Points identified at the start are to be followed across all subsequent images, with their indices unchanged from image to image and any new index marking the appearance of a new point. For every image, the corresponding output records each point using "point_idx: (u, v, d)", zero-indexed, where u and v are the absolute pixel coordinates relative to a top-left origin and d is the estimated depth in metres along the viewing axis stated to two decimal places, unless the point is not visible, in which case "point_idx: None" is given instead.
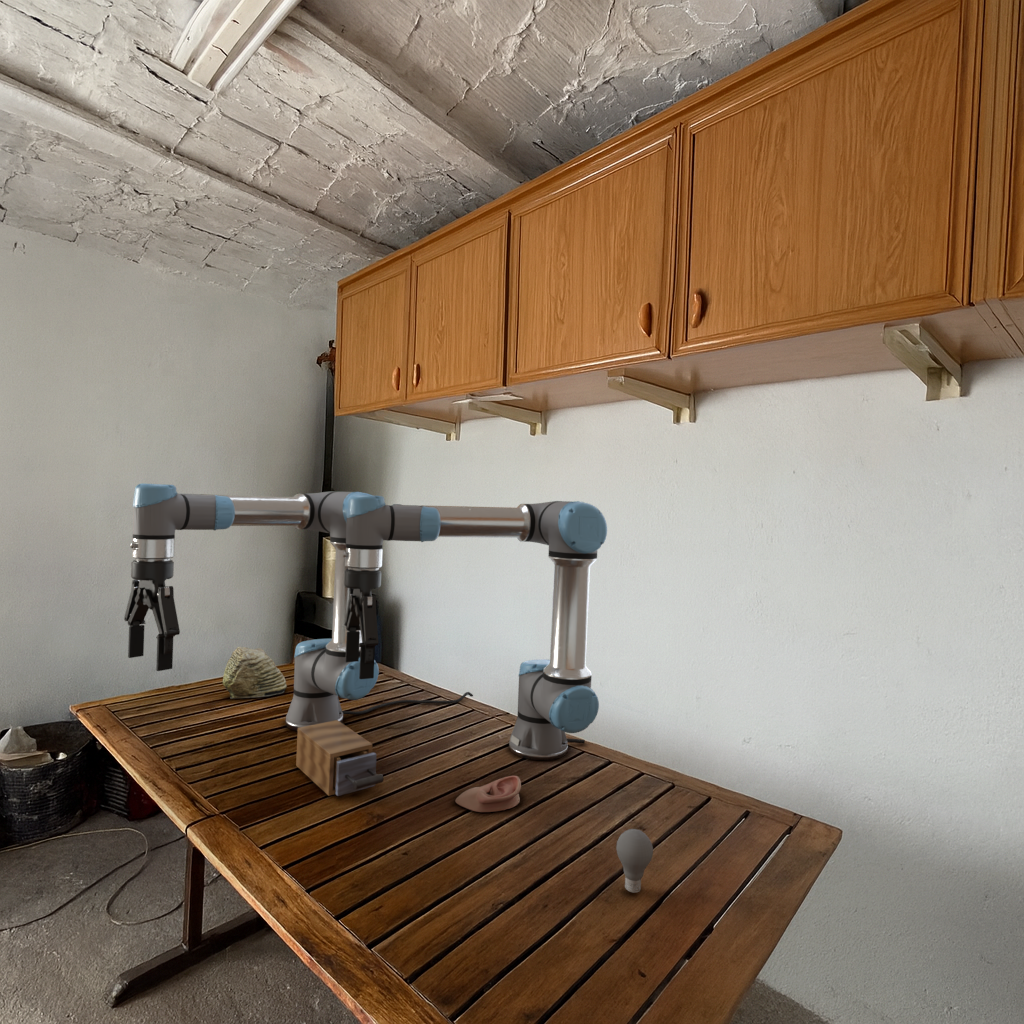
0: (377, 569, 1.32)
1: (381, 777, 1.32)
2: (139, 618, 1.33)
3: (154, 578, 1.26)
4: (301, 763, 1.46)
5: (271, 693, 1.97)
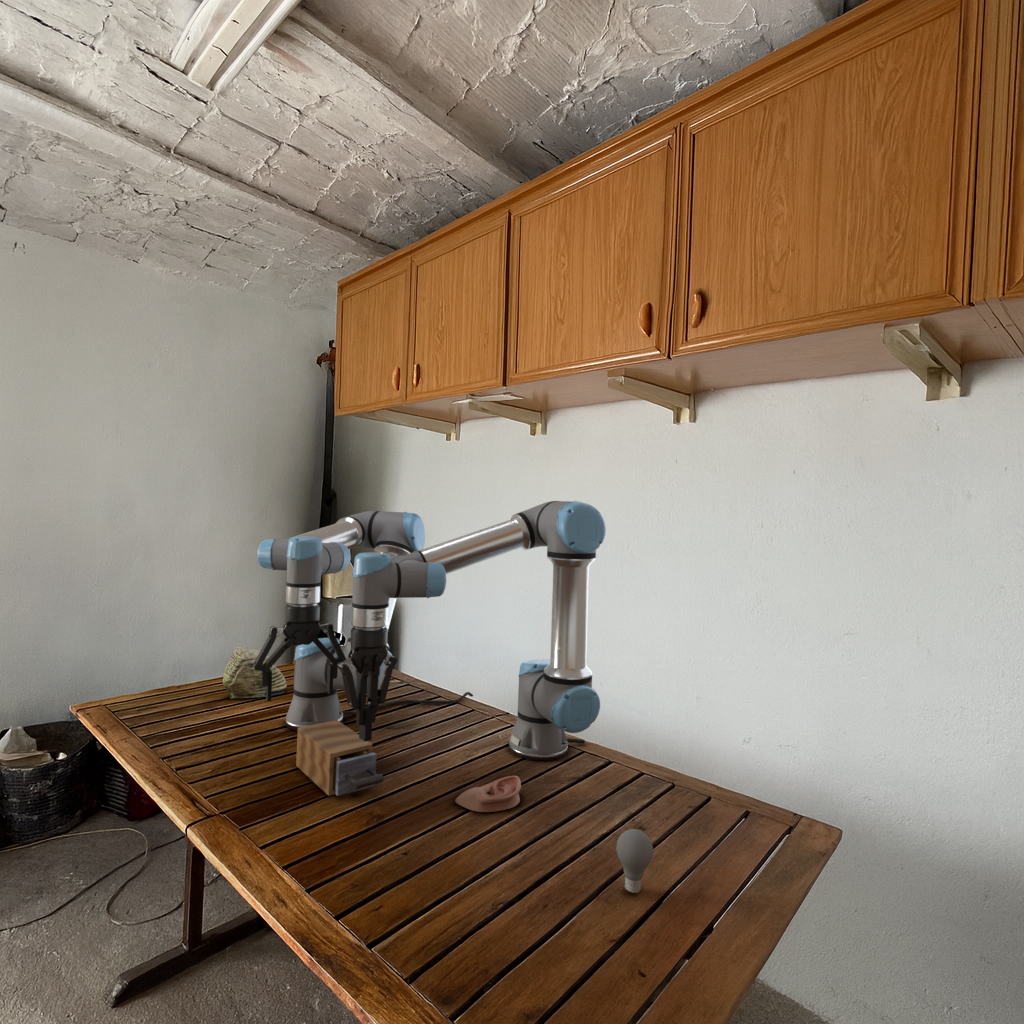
0: None
1: (381, 777, 1.32)
2: None
3: None
4: (301, 763, 1.46)
5: (271, 693, 1.97)
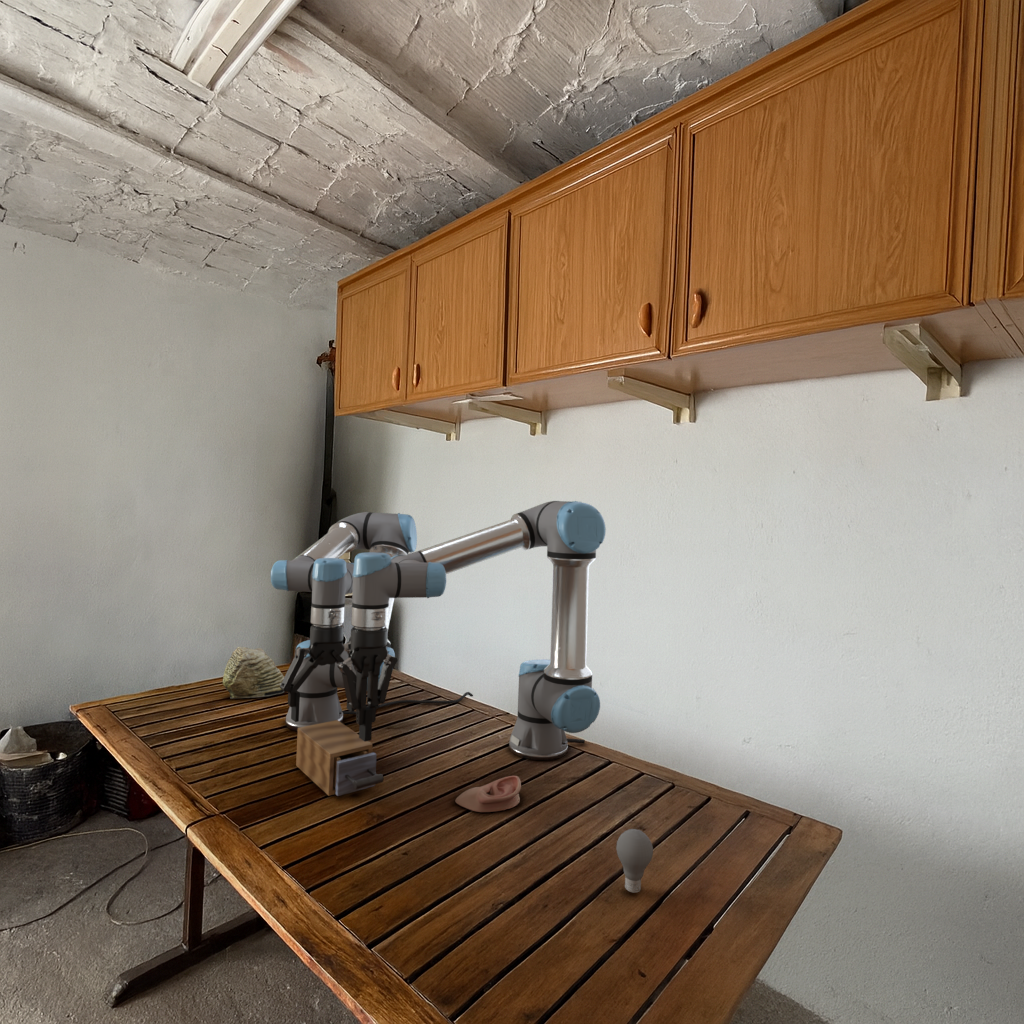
0: None
1: (381, 777, 1.32)
2: None
3: None
4: (301, 763, 1.46)
5: (271, 693, 1.97)
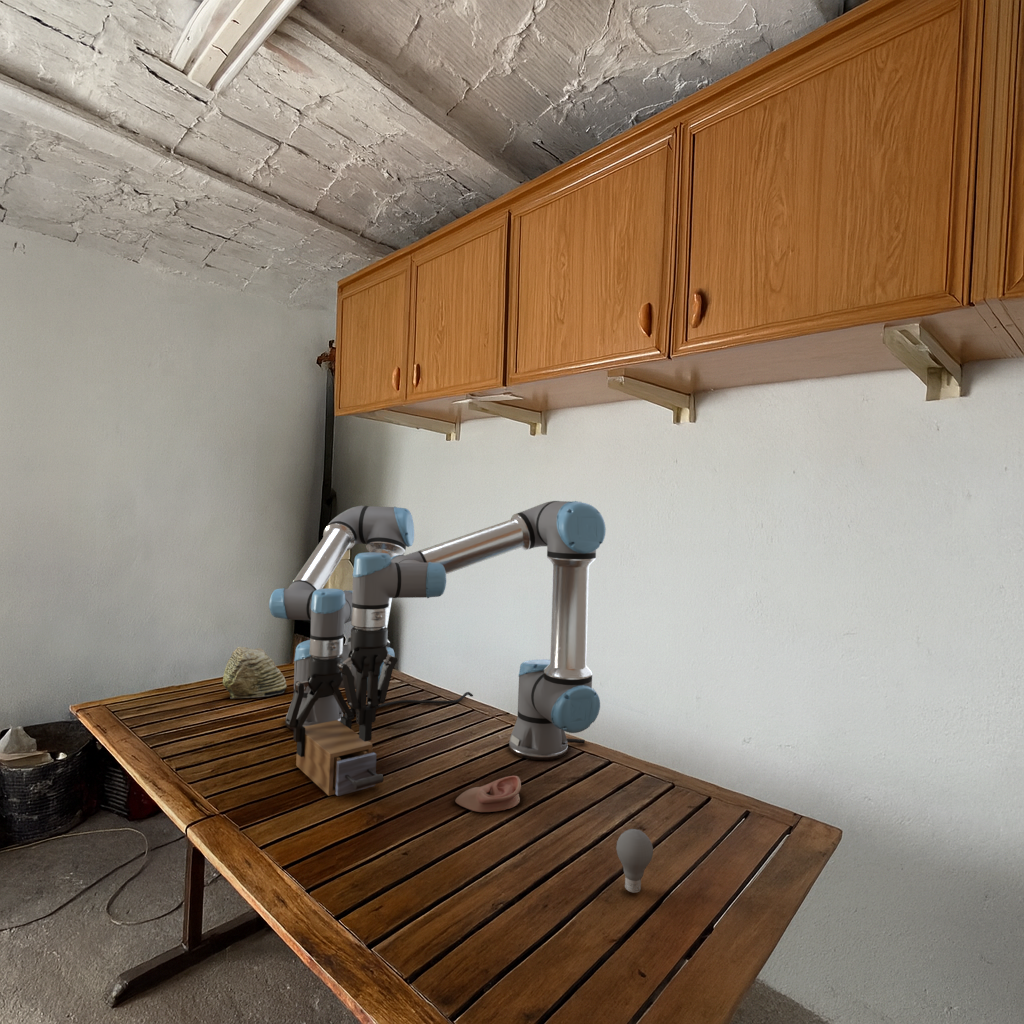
0: None
1: (381, 777, 1.32)
2: None
3: None
4: (301, 763, 1.46)
5: (271, 693, 1.97)
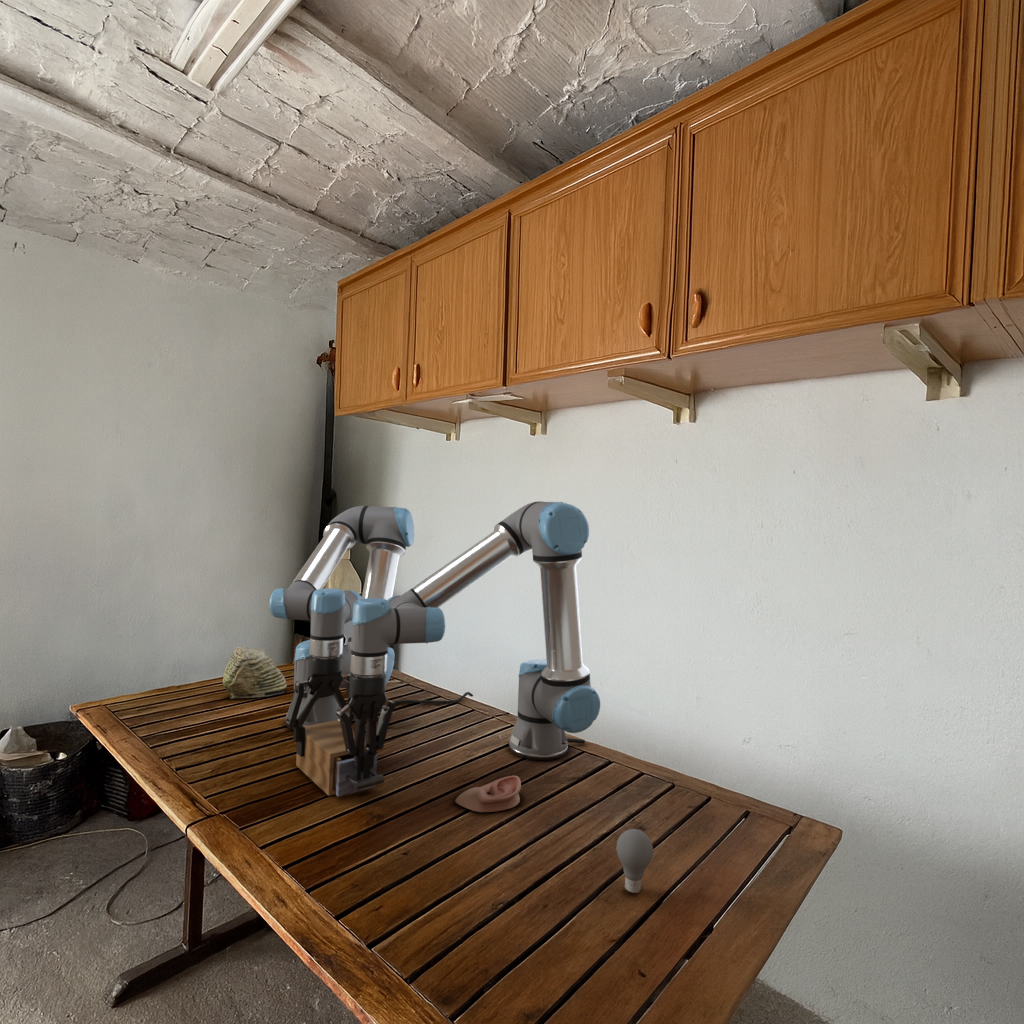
0: None
1: (382, 778, 1.32)
2: None
3: None
4: (301, 763, 1.46)
5: (271, 693, 1.97)
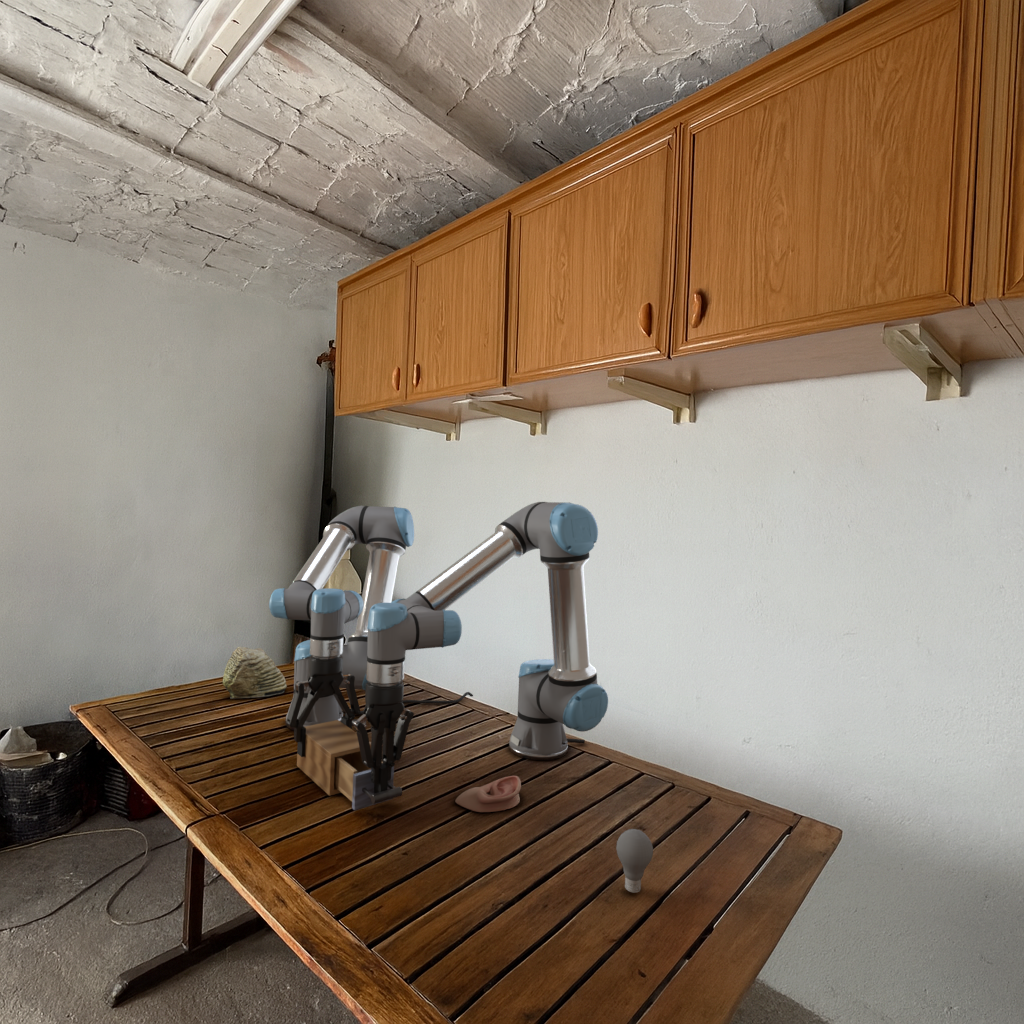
0: None
1: (400, 790, 1.27)
2: None
3: (342, 668, 1.50)
4: (302, 763, 1.46)
5: (271, 693, 1.97)
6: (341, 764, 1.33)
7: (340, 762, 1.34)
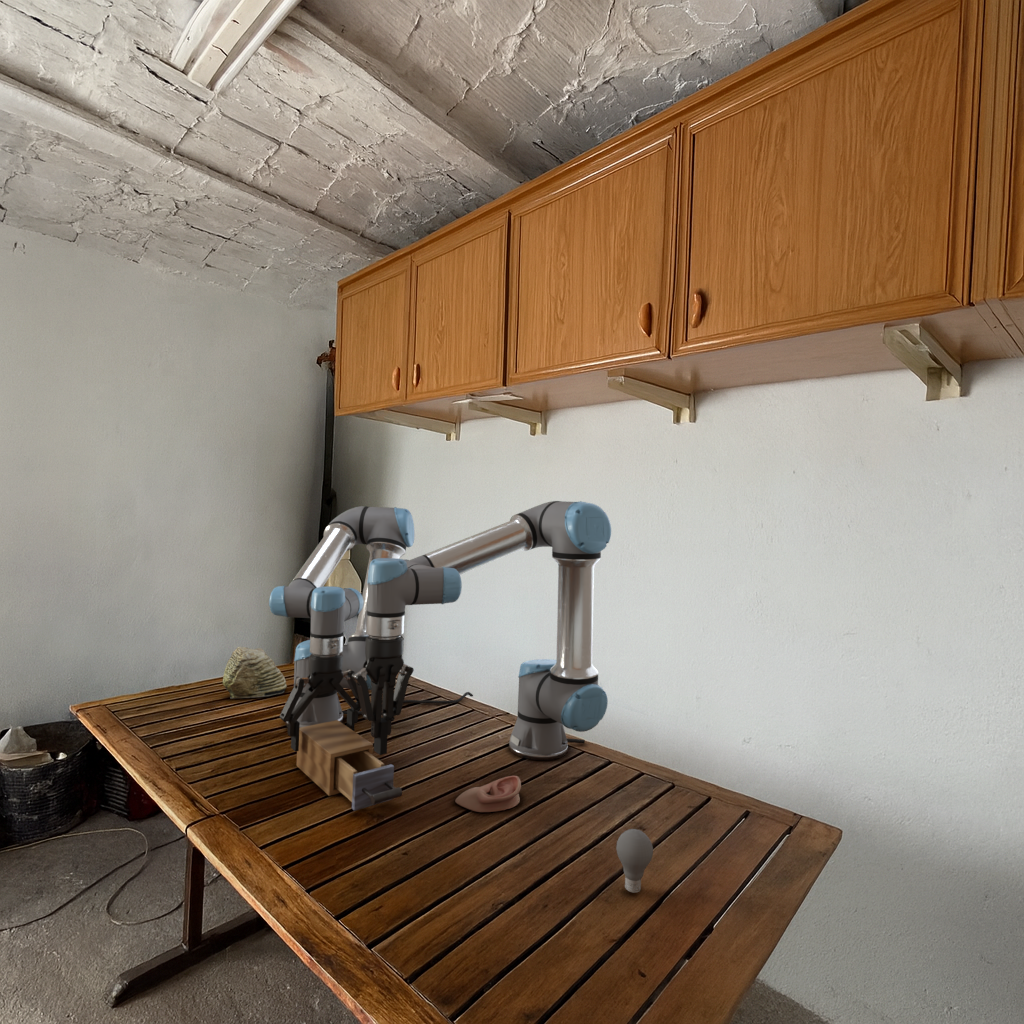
0: None
1: (400, 791, 1.27)
2: None
3: None
4: (301, 763, 1.46)
5: (271, 693, 1.97)
6: (341, 764, 1.33)
7: (340, 762, 1.34)
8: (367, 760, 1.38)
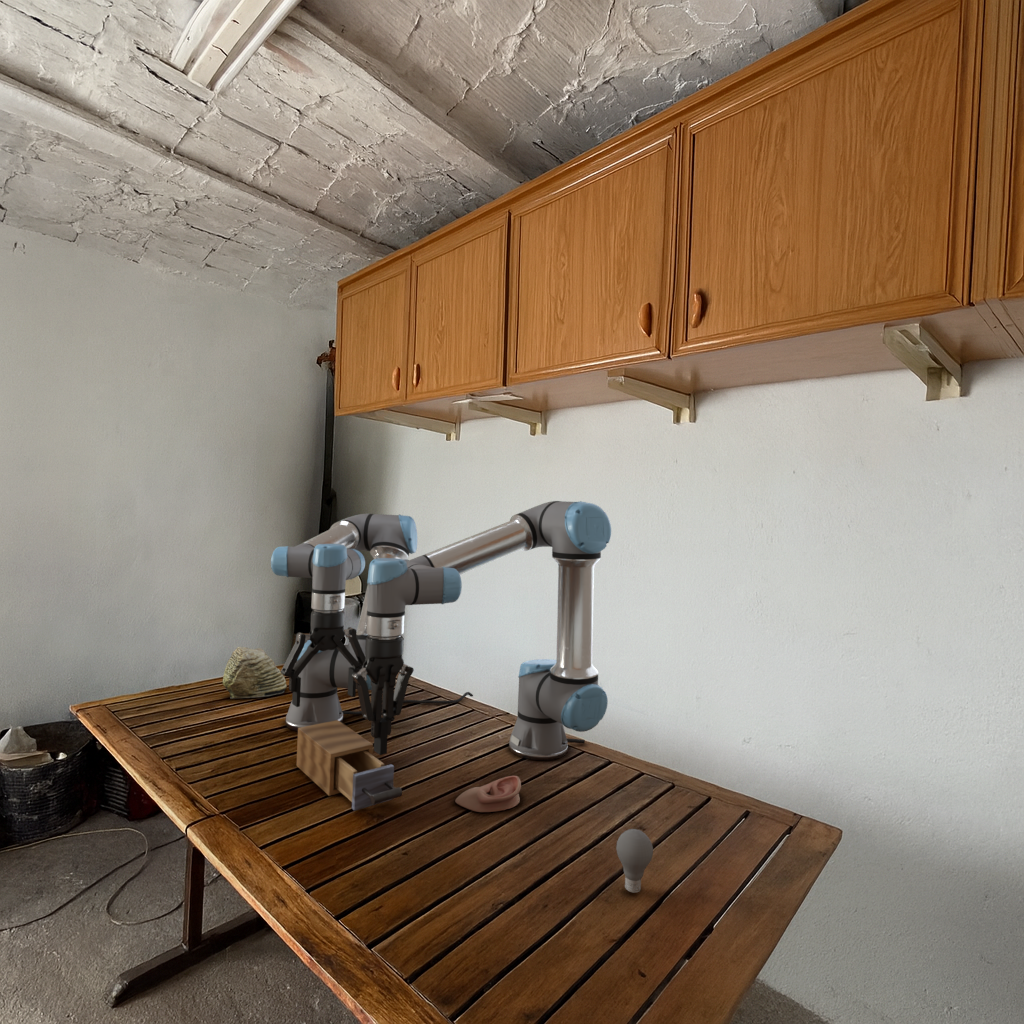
0: None
1: (400, 791, 1.27)
2: None
3: None
4: (301, 763, 1.46)
5: (271, 693, 1.97)
6: (341, 764, 1.33)
7: (340, 762, 1.34)
8: (367, 760, 1.38)
